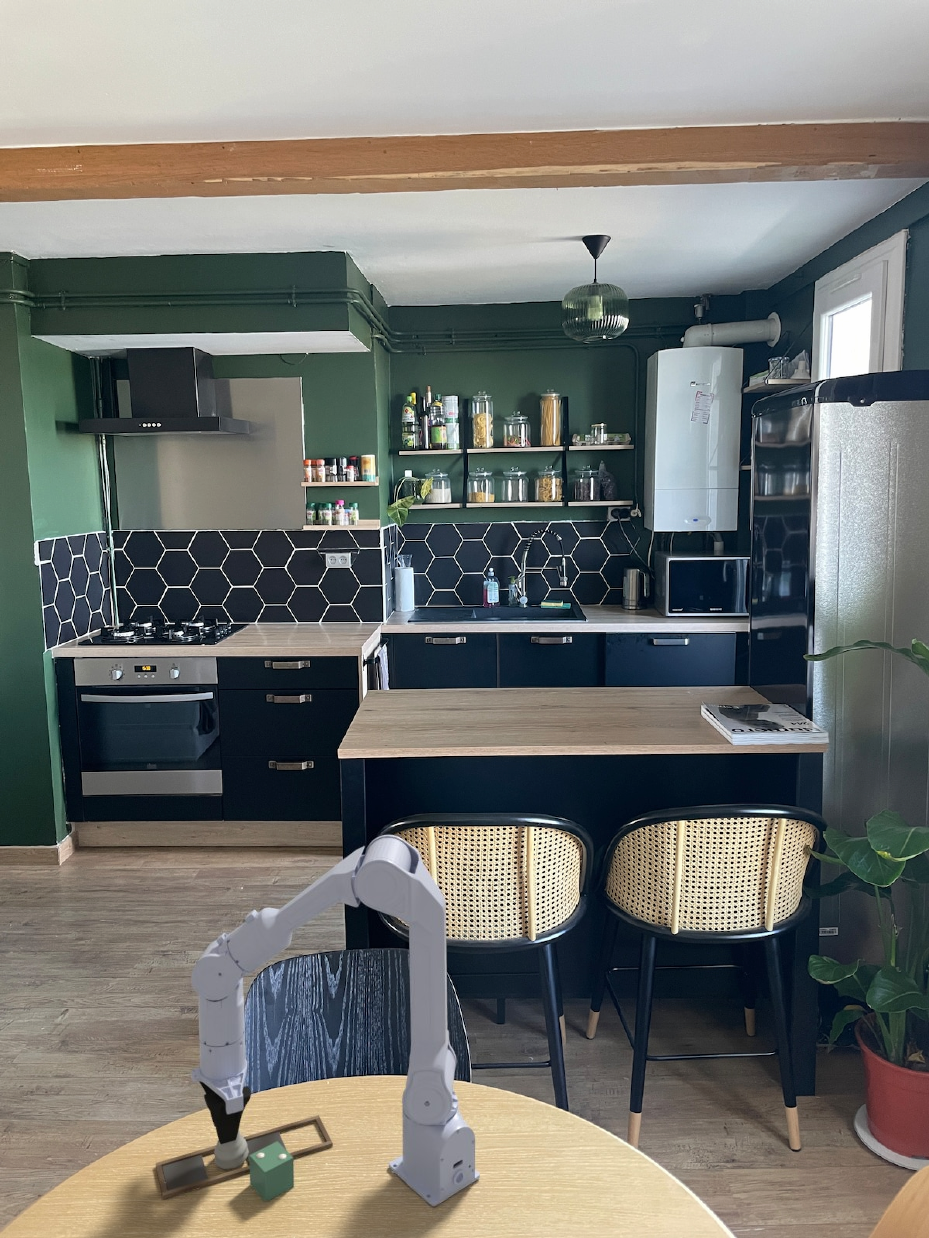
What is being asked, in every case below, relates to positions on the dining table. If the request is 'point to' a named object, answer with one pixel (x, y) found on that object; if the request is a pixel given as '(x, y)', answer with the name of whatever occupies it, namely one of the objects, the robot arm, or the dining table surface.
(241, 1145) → the rook chess piece
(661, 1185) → the dining table surface
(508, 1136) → the dining table surface
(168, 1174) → the track board
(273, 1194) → the green die
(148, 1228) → the dining table surface
